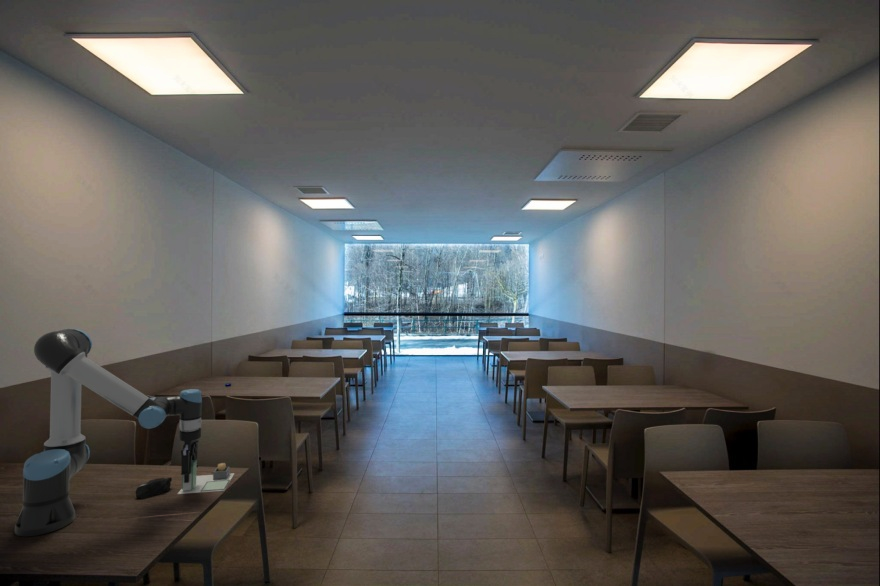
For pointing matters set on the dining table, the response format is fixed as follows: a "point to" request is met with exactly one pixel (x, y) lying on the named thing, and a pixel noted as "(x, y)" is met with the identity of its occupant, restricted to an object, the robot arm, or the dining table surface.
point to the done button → (221, 467)
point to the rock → (153, 487)
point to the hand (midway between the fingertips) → (189, 487)
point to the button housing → (221, 474)
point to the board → (208, 484)
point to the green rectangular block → (193, 471)
